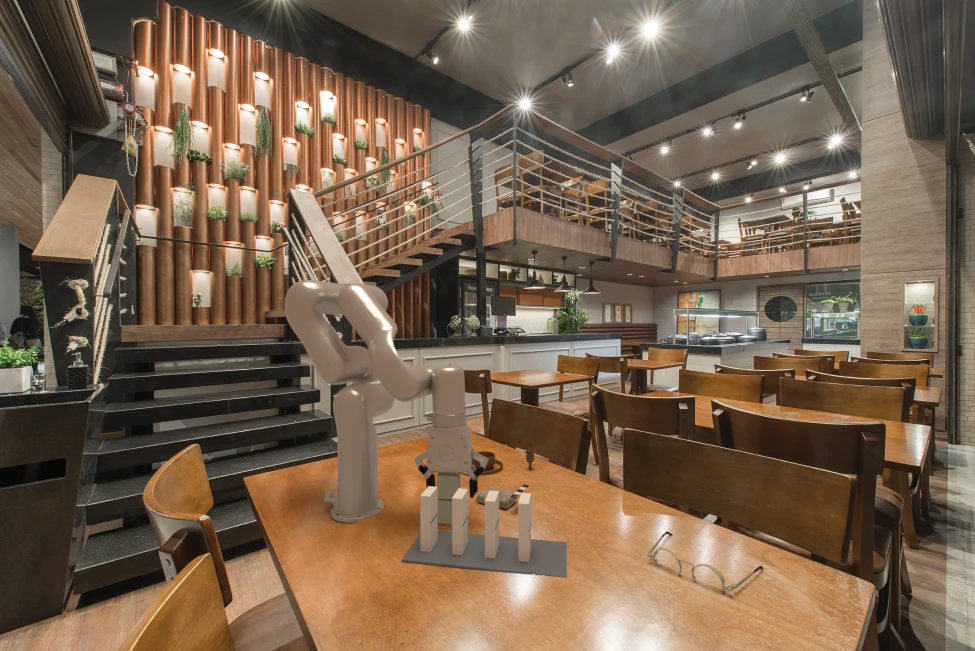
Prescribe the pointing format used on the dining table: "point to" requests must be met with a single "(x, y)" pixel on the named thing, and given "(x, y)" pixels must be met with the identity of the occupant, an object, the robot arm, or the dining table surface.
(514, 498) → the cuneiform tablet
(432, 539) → the domino
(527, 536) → the domino
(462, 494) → the domino
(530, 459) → the place setting
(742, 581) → the eyeglasses
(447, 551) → the mat
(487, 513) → the domino
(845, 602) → the dining table surface
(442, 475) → the end domino
